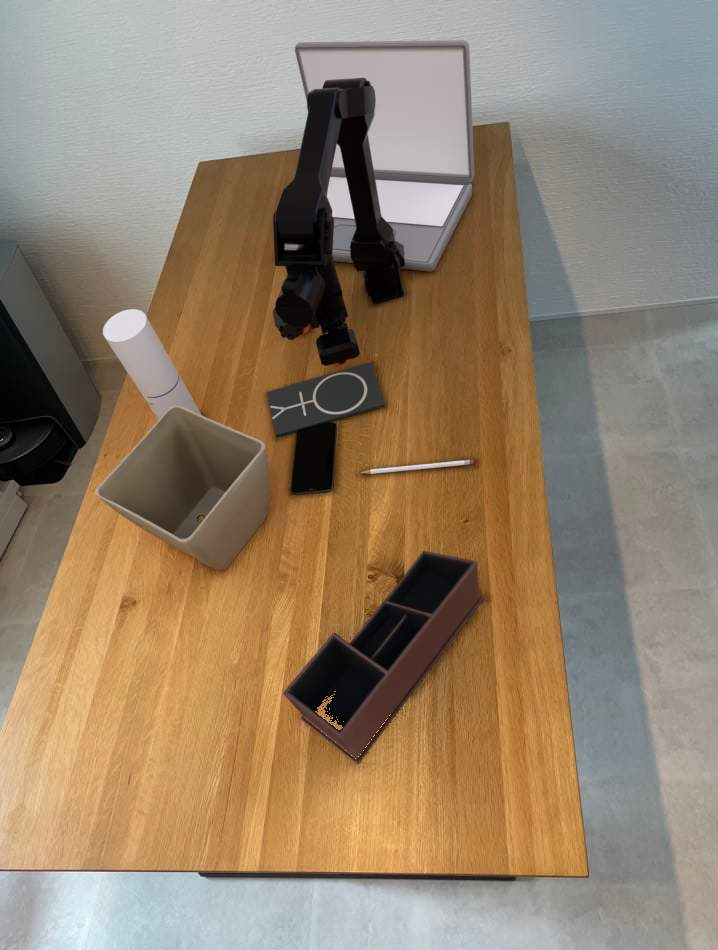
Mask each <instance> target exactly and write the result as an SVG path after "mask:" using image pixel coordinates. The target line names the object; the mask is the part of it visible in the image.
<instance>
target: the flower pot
mask: <svg viewBox="0 0 718 950" xmlns="http://www.w3.org/2000/svg"><path fill="white" fill-rule="evenodd" d="M270 473H271V472H270V463H269V457H268V451H267V447H266V443H265V442H264V441H262V440H260V439H258V438H255V437H254V436H251V435H248V434H246V433H243V432H242V431H239V430H237V429H234V428H232V427H230V426H227V425H225V424H222V423H221V422H218V421H216V420H214V419H212V418H209V417H207V416H204V415H202V414H201V415H200V414H198V413H195V412H193V411H191V410H189V409H187V408H184V407H182V406H180V405H174V406H171V407H170V408H169V409H168V410H167V411H166V413H165V414H164V415H163V416H162V417H161V418H160V419H159V420H158V419H157V421H156V423H154V425H153V426H152V427H151V428H150V429H149V430H148V431H147V433H146V434H145V435H144V436H143V437H142V438H141V439H140V440H139V441H138V442H137V444H136V445H135V446H133V448H131V450H130V451H129V452H128V453H127V454H126V456H125V457H124V458H123V459H121V461H120V462H119V463H118V464H117V465H116V466H115V467H114V469H113V470H112V471H111V472H110V473H109V474H108V475H107V476H106V477H105V478H104V480H102V482H100V484H99V485H98V486H97V487H96V489H95V491H94V493H95V496H96V497H97V498H98V499H99V500H101V501H102V502H103V503H104V504H106V505H107V506H108V507H110V508H111V509H112V510H114V511H115V512H116V513H118V514H119V515H121V516H122V517H123V518H124V519H126V520H127V521H129V522H131V523H132V524H134V525H135V526H137V527H138V528H140V529H142V530H143V531H145V532H147V533H148V534H150V535H152V536H154V537H156V538H157V539H159V540H161V541H163V542H165V543H166V544H168V545H170V546H172V547H174V548H176V549H178V550H179V551H181V552H183V553H185V554H187V555H189V556H191V557H192V558H194V559H195V560H198V561H199V562H201V563H202V564H204V565H206V566H207V567H210V568H211V569H213V570H215V571H218V572H224V571H226V570H227V569H228V568H229V567H230V566H231V564H232V563H233V562H234V560H235V559H236V558H237V557H238V555H239V554H240V553H241V551H242V550H243V549H244V548H245V546H246V545H247V544H248V543H249V541H250V540H251V538H252V537H253V536H254V535H255V534H256V532H257V531H258V530H259V528H260V527H261V526H262V524H263V523H264V522H265V521H266V519H267V518H268V515H269V510H270V500H271V499H270V498H271V474H270ZM200 516H203V517H204V518H203V519H202V520H201V521H198V517H200Z"/></svg>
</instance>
